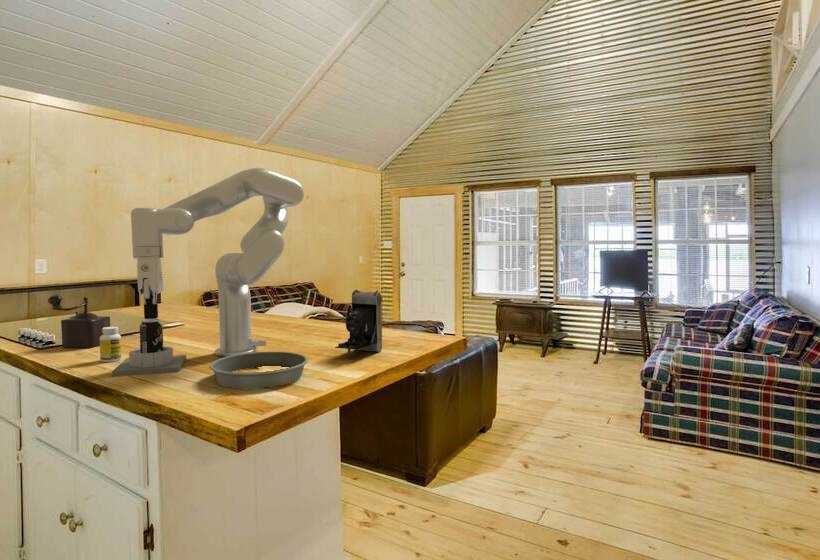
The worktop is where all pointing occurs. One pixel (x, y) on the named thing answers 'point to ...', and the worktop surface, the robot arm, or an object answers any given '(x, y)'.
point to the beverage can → (151, 336)
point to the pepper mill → (80, 325)
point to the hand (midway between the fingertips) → (151, 318)
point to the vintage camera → (364, 322)
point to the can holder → (150, 362)
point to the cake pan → (258, 359)
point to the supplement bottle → (110, 345)
